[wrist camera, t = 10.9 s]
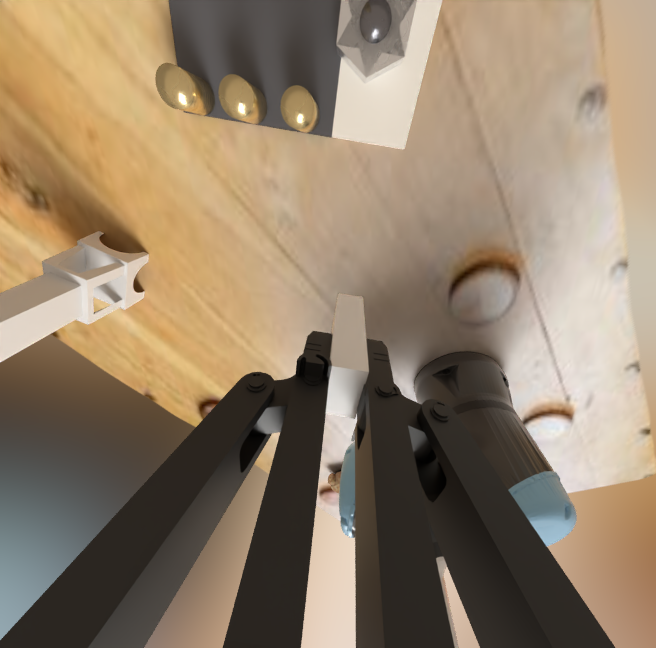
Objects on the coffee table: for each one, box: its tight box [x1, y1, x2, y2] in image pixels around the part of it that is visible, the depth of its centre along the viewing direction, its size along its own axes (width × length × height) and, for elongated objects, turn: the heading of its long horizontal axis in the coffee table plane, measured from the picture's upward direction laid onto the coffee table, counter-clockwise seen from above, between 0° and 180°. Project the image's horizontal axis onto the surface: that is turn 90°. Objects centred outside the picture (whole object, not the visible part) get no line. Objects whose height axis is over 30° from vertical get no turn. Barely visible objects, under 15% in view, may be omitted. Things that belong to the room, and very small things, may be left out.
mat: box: [169, 0, 442, 150], centre depth 24 cm, size 24×16×1 cm, turn 82°
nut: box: [336, 0, 417, 84], centre depth 22 cm, size 7×6×3 cm
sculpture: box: [0, 231, 149, 362], centre depth 27 cm, size 7×8×30 cm
